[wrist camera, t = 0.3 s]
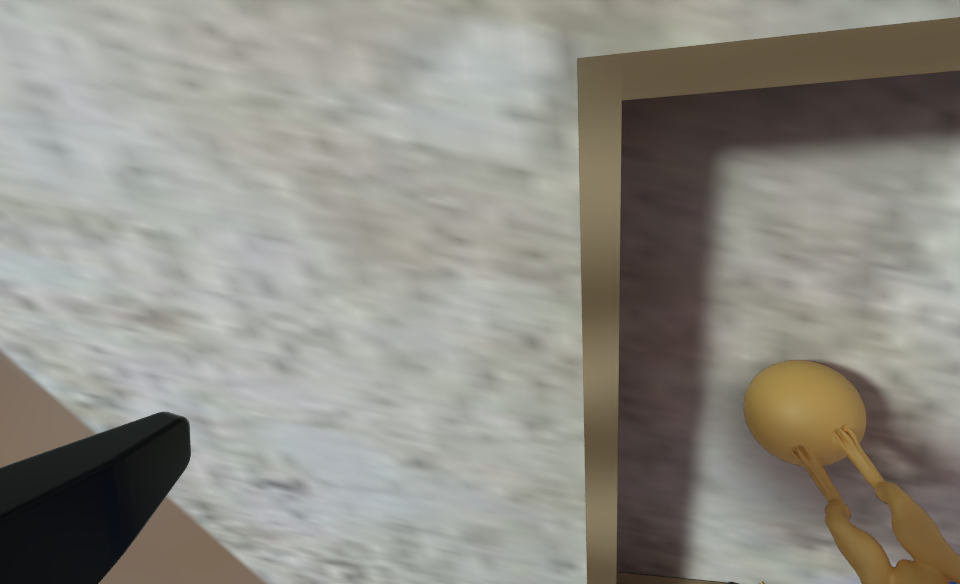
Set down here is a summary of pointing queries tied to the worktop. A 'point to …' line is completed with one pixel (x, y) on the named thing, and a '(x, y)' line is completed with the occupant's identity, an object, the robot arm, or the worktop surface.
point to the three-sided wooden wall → (600, 196)
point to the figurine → (828, 439)
